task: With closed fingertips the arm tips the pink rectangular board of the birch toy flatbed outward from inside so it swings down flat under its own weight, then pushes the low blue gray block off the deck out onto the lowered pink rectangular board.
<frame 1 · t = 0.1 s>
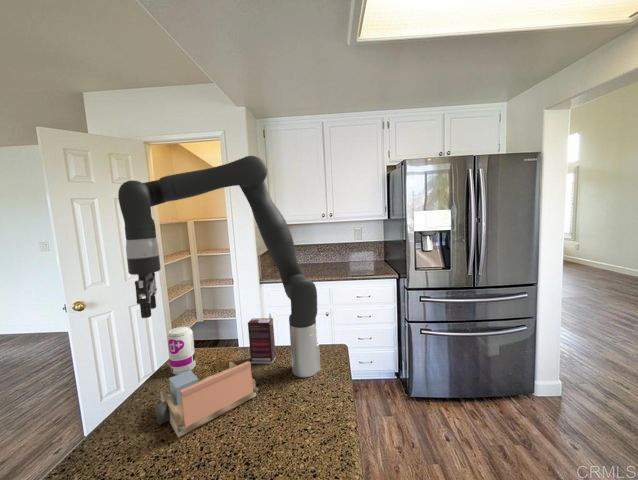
hand: (149, 312, 76), 29 cm above the countertop, fingers open, 8 cm apart
blue gray block: (185, 394, 81), point 3 cm above the countertop, touching flatbed
supplement can: (183, 369, 101), on the countertop
flatbed: (215, 407, 79), on the countertop
supplement box: (263, 361, 104), on the countertop
pink rectangular board: (219, 391, 75), point 7 cm above the countertop, hinge at -3.0°
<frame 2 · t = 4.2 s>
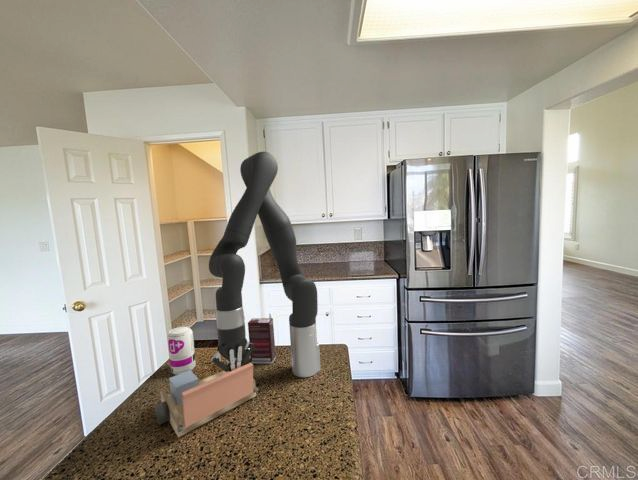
hand: (235, 381, 79), 7 cm above the countertop, fingers closed
pink rectangular board: (220, 392, 74), point 7 cm above the countertop, hinge at 6.6°, touching gripper
everything else where it was.
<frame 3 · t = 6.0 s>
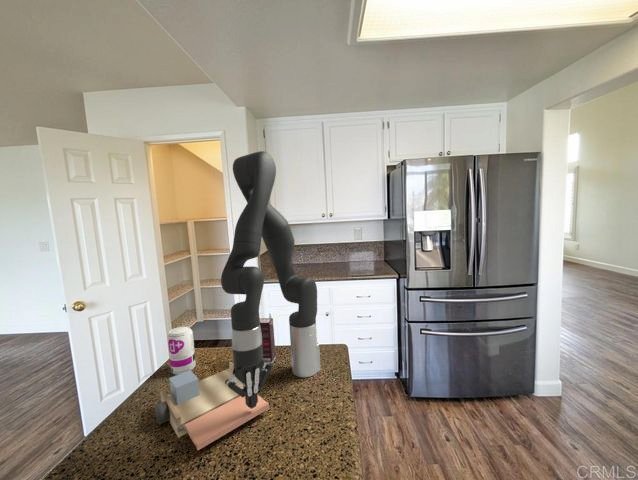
hand: (252, 406, 72), 4 cm above the countertop, fingers closed
pink rectangular board: (228, 415, 72), point 2 cm above the countertop, hinge at 90.3°
everything else where it was.
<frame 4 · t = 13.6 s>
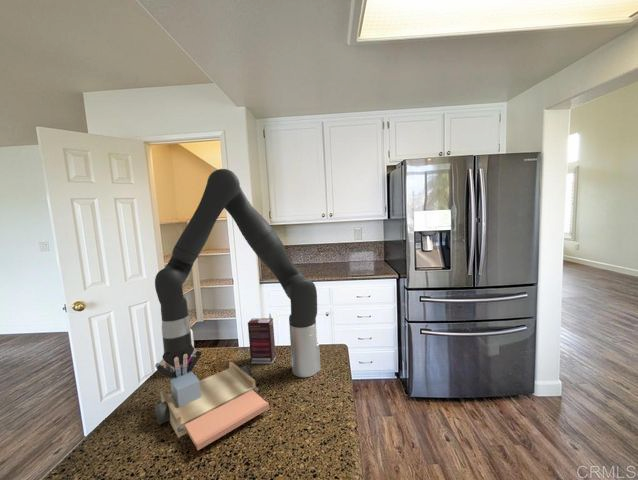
hand: (182, 386, 83), 4 cm above the countertop, fingers closed
blue gray block: (186, 396, 80), point 3 cm above the countertop, touching flatbed, gripper
everything else where it was.
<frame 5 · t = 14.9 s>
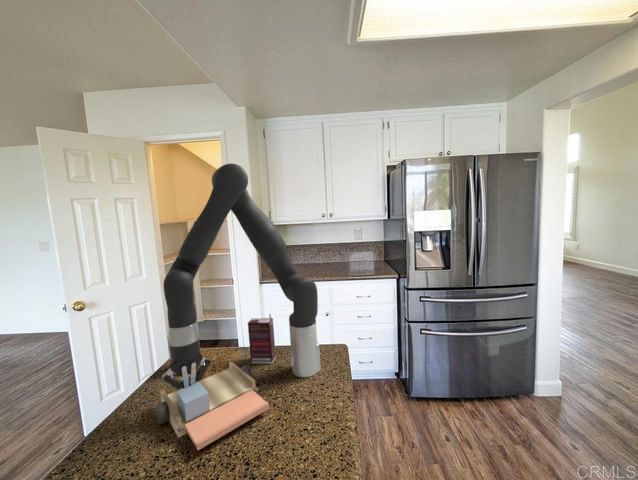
hand: (189, 397, 78), 4 cm above the countertop, fingers closed
blue gray block: (194, 409, 74), point 3 cm above the countertop, touching flatbed, gripper
everything else where it was.
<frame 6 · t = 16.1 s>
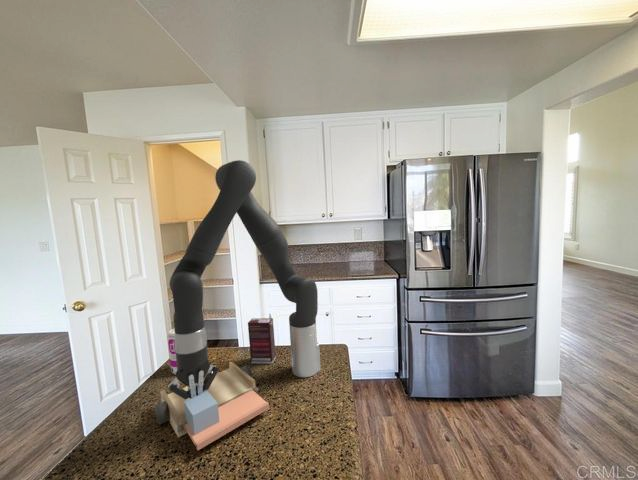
hand: (197, 408, 73), 4 cm above the countertop, fingers closed
blue gray block: (202, 420, 70), point 3 cm above the countertop, touching gripper, pink rectangular board
pink rectangular board: (228, 415, 72), point 2 cm above the countertop, hinge at 90.3°, touching blue gray block
everything else where it was.
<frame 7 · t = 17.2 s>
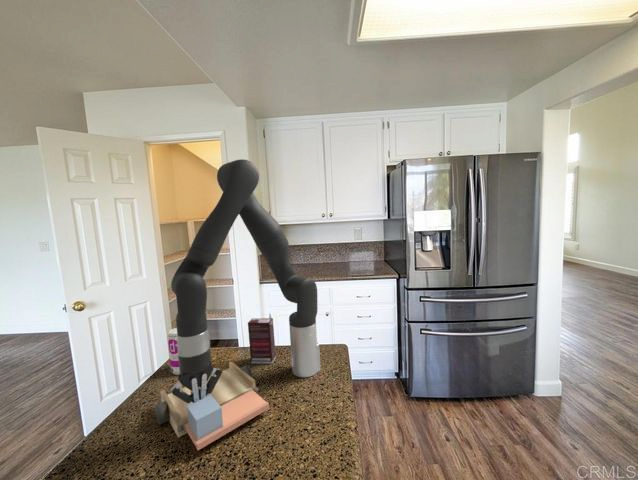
hand: (200, 412, 72), 4 cm above the countertop, fingers closed
blue gray block: (205, 425, 68), point 3 cm above the countertop, touching gripper, pink rectangular board
everything else where it was.
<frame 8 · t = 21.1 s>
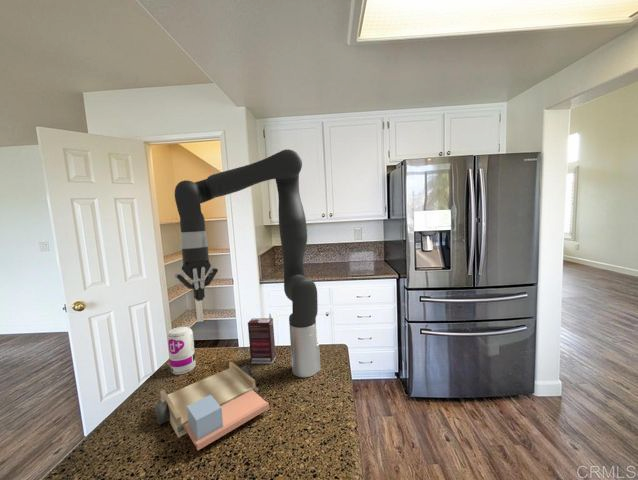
hand: (199, 300, 87), 29 cm above the countertop, fingers closed
blue gray block: (205, 425, 68), point 3 cm above the countertop, touching pink rectangular board
everything else where it was.
at the end: pink rectangular board at +90° (first picture: -3°); blue gray block tilted 0° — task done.
